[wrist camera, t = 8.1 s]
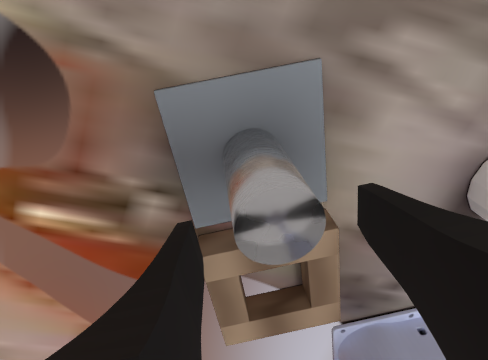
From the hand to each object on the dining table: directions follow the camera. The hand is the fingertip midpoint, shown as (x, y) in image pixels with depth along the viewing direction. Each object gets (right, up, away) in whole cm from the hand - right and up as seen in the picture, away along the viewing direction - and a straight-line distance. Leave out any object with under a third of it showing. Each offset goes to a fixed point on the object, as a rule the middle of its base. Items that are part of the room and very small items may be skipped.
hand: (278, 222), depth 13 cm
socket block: (+1, -6, +12) cm, 14 cm away
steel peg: (-1, +3, +7) cm, 8 cm away
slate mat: (-1, +4, +7) cm, 8 cm away
